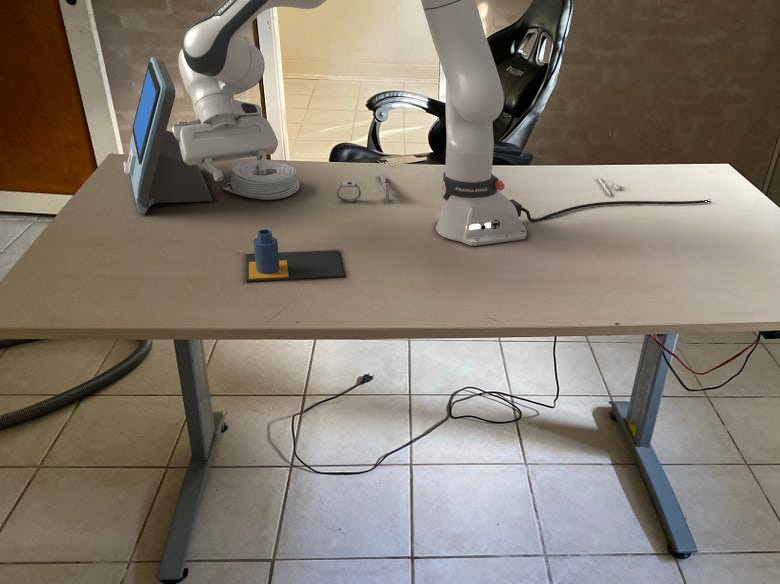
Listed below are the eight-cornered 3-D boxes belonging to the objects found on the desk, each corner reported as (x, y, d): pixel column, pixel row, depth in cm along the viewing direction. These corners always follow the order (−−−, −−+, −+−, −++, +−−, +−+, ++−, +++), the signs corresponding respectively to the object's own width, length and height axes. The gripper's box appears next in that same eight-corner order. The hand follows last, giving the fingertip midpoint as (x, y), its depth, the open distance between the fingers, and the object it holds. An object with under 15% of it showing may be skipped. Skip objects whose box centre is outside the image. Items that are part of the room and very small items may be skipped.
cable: (218, 190, 195) (215, 167, 191) (268, 174, 207) (266, 153, 204) (263, 207, 187) (261, 184, 183) (313, 190, 199) (311, 168, 196)
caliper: (389, 203, 194) (389, 180, 191) (385, 203, 194) (385, 180, 191) (383, 177, 211) (383, 156, 208) (379, 177, 211) (380, 156, 208)
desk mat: (337, 251, 167) (337, 249, 167) (344, 277, 157) (343, 274, 156) (246, 255, 163) (246, 253, 162) (246, 282, 152) (246, 279, 152)
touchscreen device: (124, 169, 203) (106, 54, 187) (198, 166, 211) (187, 55, 195) (131, 216, 176) (111, 86, 161) (215, 211, 184) (205, 86, 168)
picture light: (597, 179, 221) (598, 172, 220) (611, 180, 222) (612, 173, 221) (609, 196, 210) (610, 189, 209) (623, 196, 210) (625, 189, 209)
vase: (279, 263, 159) (276, 226, 154) (279, 273, 155) (276, 236, 150) (256, 264, 158) (252, 227, 153) (256, 274, 154) (252, 237, 149)
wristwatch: (337, 203, 192) (336, 185, 189) (336, 199, 194) (336, 181, 192) (361, 203, 193) (361, 184, 191) (360, 199, 195) (360, 181, 193)
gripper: (171, 114, 149) (194, 176, 148) (267, 104, 159) (289, 162, 158) (167, 130, 154) (190, 190, 153) (260, 120, 165) (282, 176, 164)
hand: (241, 176), depth 156 cm, fingers open, 8 cm apart
